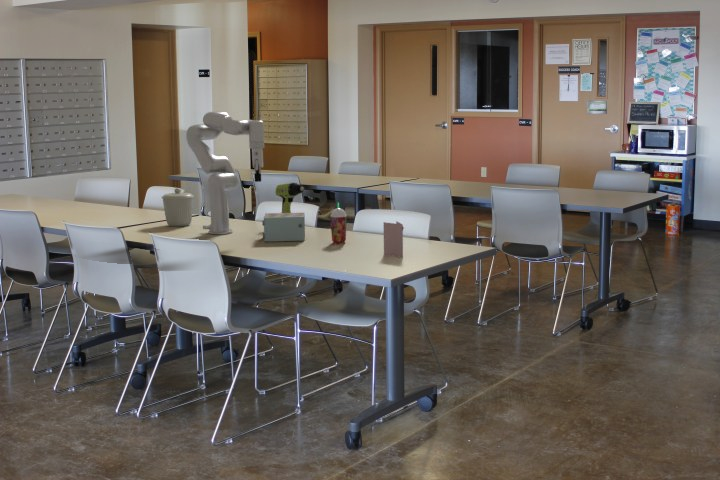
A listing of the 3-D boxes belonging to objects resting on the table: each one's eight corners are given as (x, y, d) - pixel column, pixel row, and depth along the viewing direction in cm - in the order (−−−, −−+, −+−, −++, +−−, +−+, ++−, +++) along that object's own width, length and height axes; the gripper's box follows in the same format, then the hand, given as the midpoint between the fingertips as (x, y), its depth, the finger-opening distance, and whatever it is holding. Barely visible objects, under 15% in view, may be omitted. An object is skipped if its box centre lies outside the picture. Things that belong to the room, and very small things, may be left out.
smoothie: (349, 241, 469) (349, 201, 465) (344, 244, 461) (343, 204, 457) (334, 241, 471) (333, 201, 468) (328, 244, 464) (327, 203, 460)
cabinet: (264, 241, 473) (263, 217, 471) (266, 236, 489) (265, 213, 487) (304, 240, 474) (304, 216, 472) (304, 235, 490) (304, 212, 488)
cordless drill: (310, 230, 508) (309, 183, 504) (300, 231, 503) (299, 184, 499) (285, 225, 525) (284, 180, 521) (274, 226, 521) (273, 181, 517)
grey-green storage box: (262, 242, 470) (262, 218, 468) (263, 241, 473) (262, 217, 471) (304, 241, 471) (304, 217, 469) (304, 240, 474) (304, 216, 472)
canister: (202, 224, 534) (200, 187, 530) (180, 228, 519) (178, 190, 515) (178, 222, 544) (176, 185, 540) (155, 226, 529) (154, 188, 525)
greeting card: (404, 257, 426) (404, 224, 423) (388, 258, 424) (388, 225, 422) (398, 253, 437) (398, 220, 434) (382, 253, 435) (382, 221, 433)
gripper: (263, 146, 469) (264, 182, 472) (265, 144, 484) (266, 179, 487) (248, 146, 469) (249, 183, 472) (250, 144, 483) (251, 180, 486)
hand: (258, 181), depth 479 cm, fingers closed
